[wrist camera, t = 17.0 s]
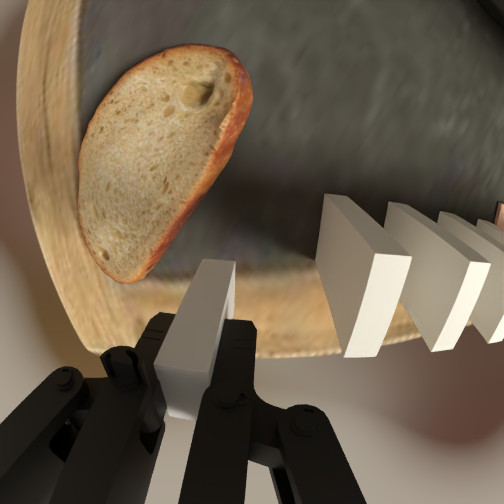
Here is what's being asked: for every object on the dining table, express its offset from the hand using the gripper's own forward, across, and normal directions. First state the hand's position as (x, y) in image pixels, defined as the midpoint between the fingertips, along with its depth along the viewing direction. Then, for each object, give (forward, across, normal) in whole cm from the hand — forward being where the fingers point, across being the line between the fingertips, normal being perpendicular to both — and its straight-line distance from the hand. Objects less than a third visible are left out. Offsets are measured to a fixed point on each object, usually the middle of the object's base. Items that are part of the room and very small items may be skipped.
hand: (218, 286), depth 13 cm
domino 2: (+9, -13, 0) cm, 16 cm away
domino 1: (+9, -7, 0) cm, 12 cm away
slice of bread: (+10, +7, -4) cm, 13 cm away
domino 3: (+9, -18, 0) cm, 20 cm away
